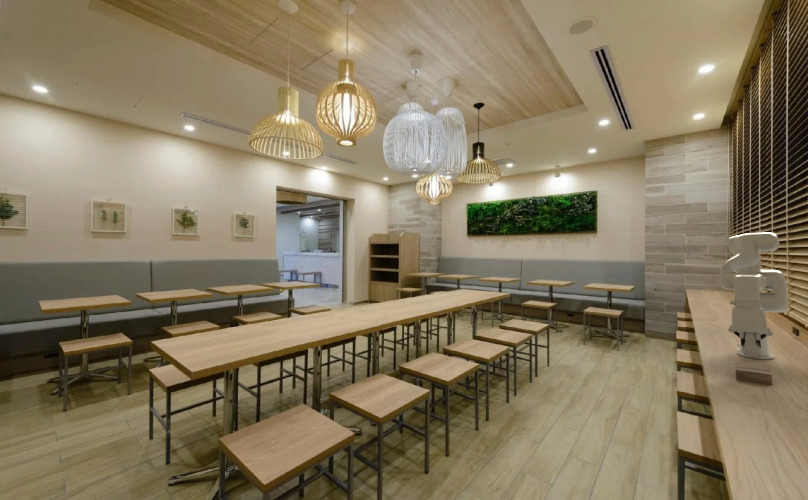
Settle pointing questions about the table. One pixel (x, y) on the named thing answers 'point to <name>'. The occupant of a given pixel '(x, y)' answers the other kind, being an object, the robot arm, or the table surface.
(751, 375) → the block
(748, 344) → the salt shaker
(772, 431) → the table surface
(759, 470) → the table surface
